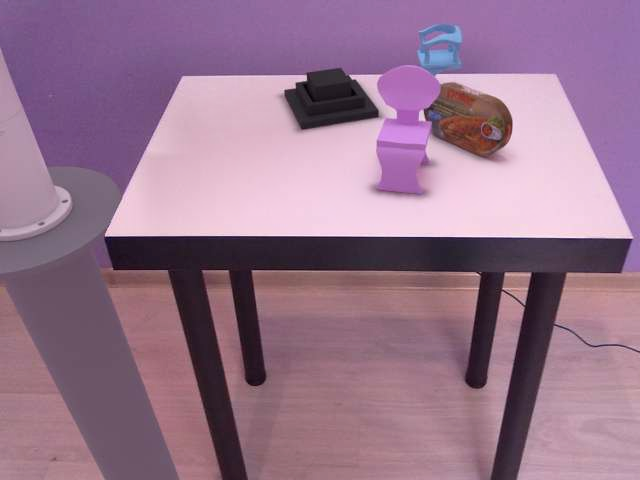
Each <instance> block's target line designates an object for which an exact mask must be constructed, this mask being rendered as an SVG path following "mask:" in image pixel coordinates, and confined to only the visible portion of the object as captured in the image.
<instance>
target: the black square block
mask: <svg viewBox="0 0 640 480" xmlns="http://www.w3.org/2000/svg"><path fill="white" fill-rule="evenodd" d="M305 74H306V75H305V76H306V81H307V88H308V95H309V97H310V99H311V101H312V102H319V101H325V100H332V99H338V98H345V97H351V81H350V80H349V78H348V77H347V75H348V74H346V72H345V71H344V69H343V68H342V67H335V68H329V69H323V70H322V69H321V70H315V71H309V72H306V73H305Z"/></svg>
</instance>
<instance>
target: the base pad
mask: <svg viewBox="0 0 640 480" xmlns="http://www.w3.org/2000/svg"><path fill="white" fill-rule="evenodd" d="M346 75H347V77H348V78H349V80H350V81H351V97H345V98H338V99H332V100H325V101H319V102H312V101H311V99H310V97H309V95H308V88H307V80H302V81H296V82H295V87H294V88H288V89H287V88H286V89H284V90H283V92H284V97H285V100H286V101H287V103H288V106H289V108H290V110H291V112H292V115H294V117H295V119H296V122H297V123H298V125H299V128H300V129H301V130H305V129H313V128H319V127H325V126H330V125H336V124H342V123H349V122H355V121H361V120H366V119H368V120H369V119H373V118H379V116H380V115H379V114H380V112H379V108H378V107H377V106H376V104H375V103H374V102H373V101H372V99H371V98H370V96H369V95H368V94H367V93H366V91H365V90H364V89H363V87H362V86H361V84H360V83H359V82H358V81H357V79H352V77H351V76H350V74H346Z"/></svg>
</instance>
